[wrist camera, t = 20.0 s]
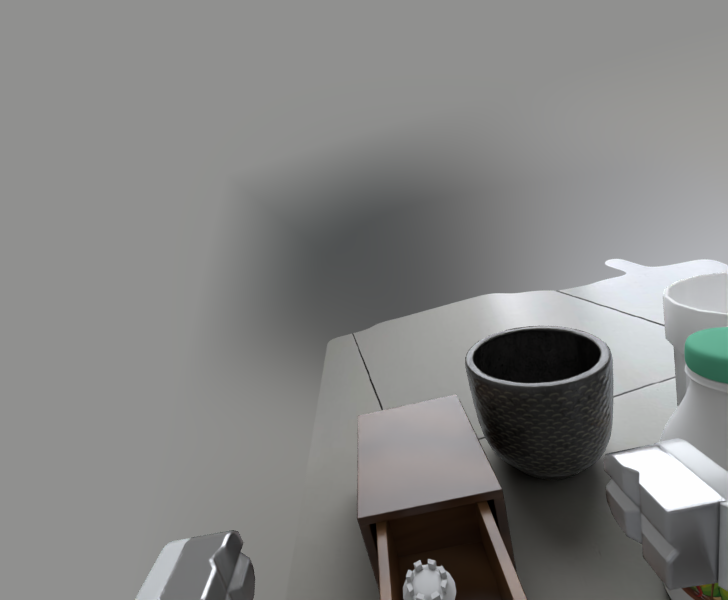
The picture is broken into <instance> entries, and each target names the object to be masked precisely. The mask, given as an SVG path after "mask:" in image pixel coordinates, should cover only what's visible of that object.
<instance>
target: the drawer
mask: <svg viewBox="0 0 728 600" xmlns="http://www.w3.org/2000/svg"><path fill="white" fill-rule="evenodd" d="M376 529H377V548H378V568H379V588H380V600H404V599H403V586H404V583H405V581H406V575H407V572H408V569H409V570H411V571H413V570H414V569H415V567H414V564H413V563H415V562H417V561H419V560H421V563H422V565H427V564H428V559H431V560H435V561H436V565H437V566H439V567H440V566H441V565H442V566H443V568H444V570H446V571H447V572H448V573H449V574H450V575H451V577H452V578H453V580H454V582H455V587H456V596H455V600H527V598H526V596H525V593H524V591H523V588H522V586H521V583H520V581H519V579H518V576H517V574H516V571H515V569H514V566H513V564H512V561H511V559H510V557H509V554H508V552H507V549H506V547H505V544H504V542H503V540H502V537H501V535H500V532H499V530H498V527H497V525H496V523H495V520H494V518H493V515H492V513H491V510H490V508H489V505H488V503H487V501H482V502H477V503H472V504H467V505H462V506H457V507H452V508H447V509H442V510H437V511H432V512H427V513H423V514H418V515H413V516H408V517H403V518H398V519H393V520H388V521H383V522H378V523H376Z"/></svg>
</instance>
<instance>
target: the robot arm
mask: <svg viewBox="0 0 728 600" xmlns="http://www.w3.org/2000/svg"><path fill="white" fill-rule="evenodd" d="M604 470H605V472H606V473H607V474H608V475H609V476H610V477H611V479H610V481H609V482H608V484H607V486H606V487H605V488H606V496H607V502H608V504H609V507H610V510H611V512H612V515H613V516H614V518H615V520H616V522H617V523H618V525H619V526H620V528H621V529H622V530H623V532H624V533H625V534H626V536H627V537H629V538H631V539H633V540H635V541H637V542H638V543H640V544H642V550H643V557H644V559H645V560H646V561H647V563H648V564H649V565H650V566H651V568H652V569H653V570H654V571H655V573H656V574H657V575H658V577H659V578H660V579H661V580H662V582H663V583H664V584H665V585H666V587H667V588H668V589H669V590H674V589H680V588H687V587H694V586H700V585H707V584H713V583H718V586H720V587H721V588H723V589H725V590H726V591H728V472H727V471H726V470H724V469H723V468H722V467H720V466H719V465H718V464H716V463H715V462H714V461H712V460H711V459H710V458H708V457H707V456H706V455H704V454H703V453H702V452H700V451H699V450H698V449H696V448H695V447H694V446H692V445H691V444H690V443H688V442H687V441H685V440H682V439H680V438H677V439H672V440H668V441H663V442H659V443H654V444H653V445H646V446H641V447H637V448H632V449H627V450H623V451H618V452H613V453H609V454H605V457H604ZM242 545H243V541H242V539H241V536H240V534H239V532H238V531H234V530H232V531H226V532H220V533H215V534H209V535H203V536H197V537H192V538H190V539H184V540H178V541H171V542H170V543H168V544H167V545H166V546H165V547H164V548H163V549H162V551H161V553H160V555H159V557H158V559H157V560H156V562H155V564H154V566H153V568H152V569H151V571H150V573H149V575H148V577H147V578H146V580H145V582H144V584H143V586H142V587H141V589H140V591H139V593H138V594H137V596H136V599H135V600H253V598H254V589H255V576H254V569H253V565H252V563H251V560H250V558H249V557H247V556H246V555H244V554H243V553H241V549H242Z"/></svg>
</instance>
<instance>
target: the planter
mask: <svg viewBox="0 0 728 600" xmlns="http://www.w3.org/2000/svg"><path fill="white" fill-rule="evenodd" d="M465 366H466V372H467V376H468V381H469V385H470V390H471V394H472V398H473V402H474V406H475V409H476V413H477V417H478V420H479V423H480V426H481V428H482V431H483V434H484V436H485V438H486V440H487V441H488V443H489V445H490V446H491V448H492V449H493V450H494V451H495V453H496V454H497V455H498V456H499V457H500V458H501V459H503V460H504V461H505V462H506V463H508V464H510V465H511V466H513V467H515V468H517V469H519V470H520V471H522V472H524V473H526V474H528V475H530V476H533V477H536V478H540V479H548V480H557V479H564V478H568V477H571V476H573V475H575V474H577V473H579V472H581V471H583V470H585V469H587V468H588V467H590V466H592V465H593V464H594V463H595V462H596V461H597V460H599V459H600V457H601V456H602V455H603V453H604V452H605V450H606V447H607V445H608V442H609V439H610V436H611V429H612V420H613V359H612V354H611V351H610V349H609V347H608V346H607V345H606V343H604V342H603V341H602V340H601V339H599V338H597V337H596V336H594V335H592V334H589V333H587V332H584V331H580V330H577V329H572V328H566V327H558V326H529V327H520V328H514V329H509V330H505V331H501V332H498V333H495V334H492V335H490V336H487V337H485V338H484V339H482V340H480V341H478V342H477V343H476V344H474V345H473V346H472V347H471V348H470V350H469V351H468V352H467V355H466V358H465Z"/></svg>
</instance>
